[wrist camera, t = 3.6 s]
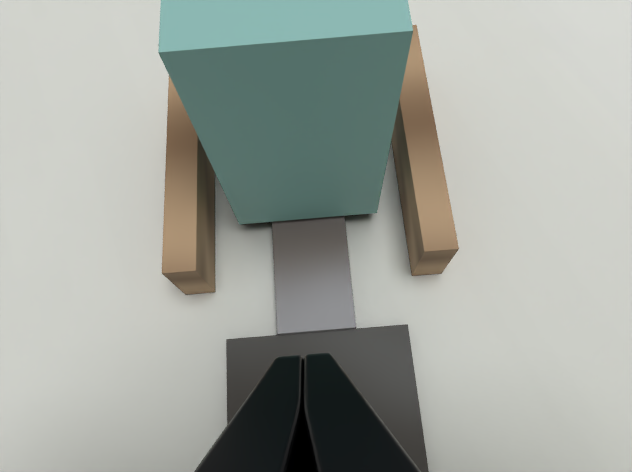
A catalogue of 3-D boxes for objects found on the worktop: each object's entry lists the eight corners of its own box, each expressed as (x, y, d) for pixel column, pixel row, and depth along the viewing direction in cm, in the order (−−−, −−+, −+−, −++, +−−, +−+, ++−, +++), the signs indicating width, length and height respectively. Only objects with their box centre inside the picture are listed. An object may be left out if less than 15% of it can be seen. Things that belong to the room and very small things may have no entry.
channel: (485, 526, 17) (515, 546, 14) (181, 550, 17) (150, 575, 14) (383, -64, 27) (389, -120, 24) (191, -47, 27) (175, -102, 24)
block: (376, 213, 20) (413, 30, 11) (239, 224, 20) (158, 52, 11) (363, 109, 22) (384, -124, 13) (237, 120, 22) (165, -105, 13)
